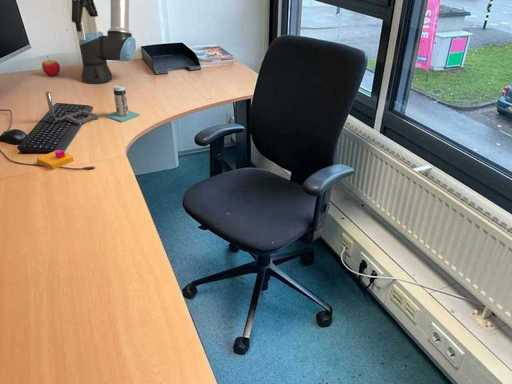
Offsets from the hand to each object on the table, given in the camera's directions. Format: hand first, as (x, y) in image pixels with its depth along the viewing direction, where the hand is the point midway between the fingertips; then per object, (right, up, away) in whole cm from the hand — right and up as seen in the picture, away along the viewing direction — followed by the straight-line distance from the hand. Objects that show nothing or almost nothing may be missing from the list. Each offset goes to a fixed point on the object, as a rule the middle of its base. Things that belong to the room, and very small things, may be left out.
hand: (88, 36), depth 174 cm
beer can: (+14, -32, +2) cm, 35 cm away
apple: (-37, -4, +47) cm, 60 cm away
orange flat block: (+3, -55, -34) cm, 65 cm away
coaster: (+14, -33, +3) cm, 36 cm away
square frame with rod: (-5, -36, -4) cm, 36 cm away
